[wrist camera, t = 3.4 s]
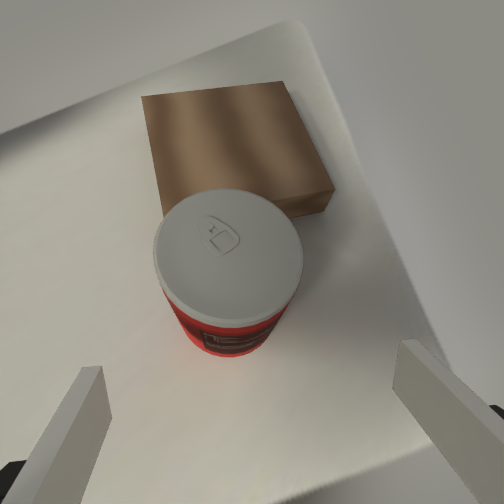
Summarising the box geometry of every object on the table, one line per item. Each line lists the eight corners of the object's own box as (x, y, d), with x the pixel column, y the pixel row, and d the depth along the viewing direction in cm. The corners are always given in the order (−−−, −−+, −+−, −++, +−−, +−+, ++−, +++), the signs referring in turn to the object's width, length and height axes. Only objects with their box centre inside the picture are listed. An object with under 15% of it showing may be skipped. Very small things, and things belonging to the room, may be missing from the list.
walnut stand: (171, 241, 28) (164, 220, 25) (148, 125, 34) (141, 96, 31) (323, 211, 31) (335, 188, 28) (277, 108, 37) (282, 80, 34)
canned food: (216, 250, 28) (212, 165, 18) (292, 300, 26) (332, 236, 17) (158, 319, 25) (115, 261, 15) (240, 380, 23) (252, 359, 13)
